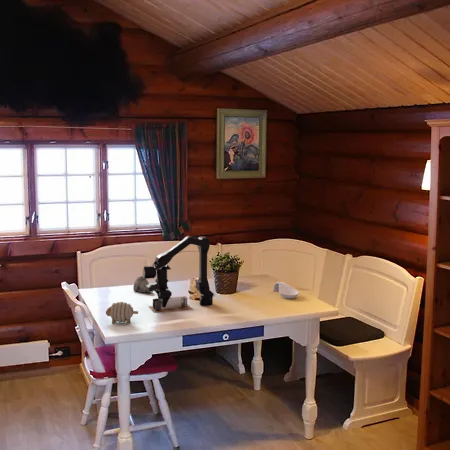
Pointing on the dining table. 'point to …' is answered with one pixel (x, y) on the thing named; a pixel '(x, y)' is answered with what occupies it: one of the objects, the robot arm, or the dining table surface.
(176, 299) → the tongs arm
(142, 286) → the mineral rock
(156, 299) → the frame
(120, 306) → the toy sheep
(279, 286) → the spoon rest
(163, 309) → the board
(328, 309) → the dining table surface
